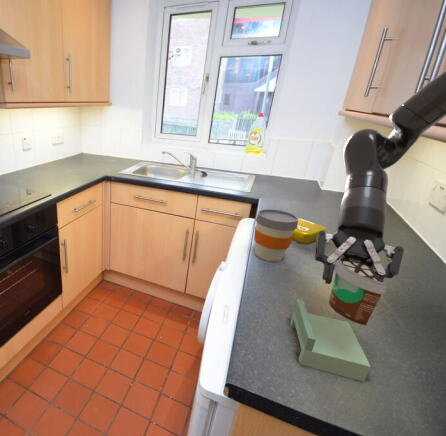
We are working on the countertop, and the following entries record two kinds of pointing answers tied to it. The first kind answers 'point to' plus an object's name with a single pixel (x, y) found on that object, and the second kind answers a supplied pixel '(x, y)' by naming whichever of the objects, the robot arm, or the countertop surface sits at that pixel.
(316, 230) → the yellow flat block
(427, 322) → the countertop surface
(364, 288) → the food container
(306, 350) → the green stand base
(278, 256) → the reusable coffee cup
